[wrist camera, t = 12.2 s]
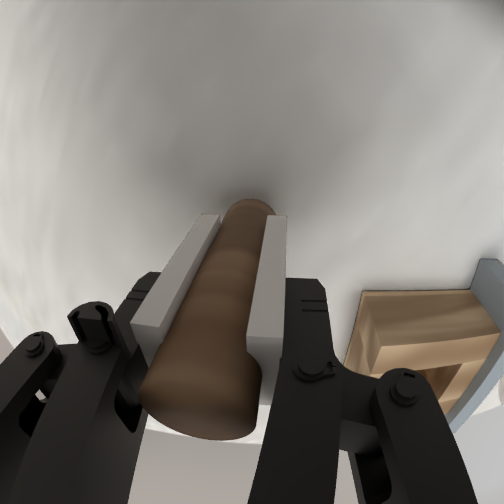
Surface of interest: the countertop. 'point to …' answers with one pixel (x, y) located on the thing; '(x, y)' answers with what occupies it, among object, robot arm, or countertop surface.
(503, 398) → the mug
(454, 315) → the block
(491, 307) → the backstop wall
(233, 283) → the dowel
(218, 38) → the countertop surface
